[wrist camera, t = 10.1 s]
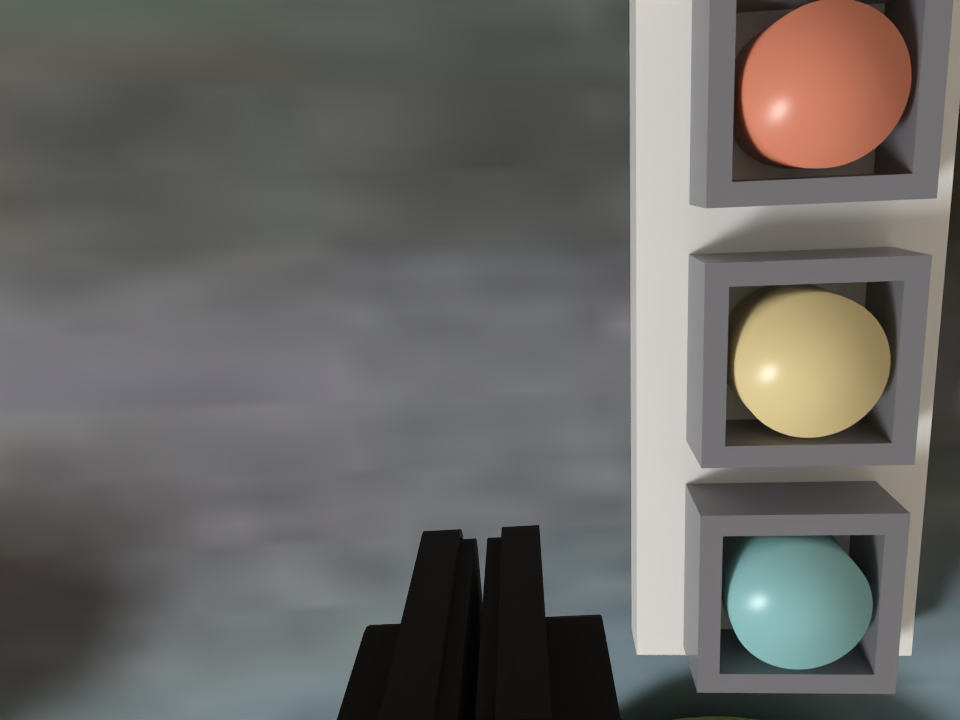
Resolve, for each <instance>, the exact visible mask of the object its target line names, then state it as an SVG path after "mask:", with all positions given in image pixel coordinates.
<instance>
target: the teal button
mask: <svg viewBox="0 0 960 720" xmlns="http://www.w3.org/2000/svg"><path fill="white" fill-rule="evenodd" d="M721 600H722V603H723V605H724V607H725V610H726V612H727V615H728V617H729V619H730V622H731V624H732V626H733V629H734V631H735V633H736V635H737V637H738V639H739V640H740V642H741V643H742V644H743V646H744V647H745V648H746V649H747V650H748V651H749V652H750V653H752V654H753V655H754V656H755V657H757V658H758V659H760V660H762V661H764V662H766V663H768V664H770V665H773V666H777V667H780V668H786V669H797V670H799V669H811V668H816V667H820V666H823V665H826V664H829V663H831V662H834V661H835V660H837V659H839V658H841V657H842V656H844V655H845V654H847V653H848V652H849V651H850V650H851V649H852V648H854V647H855V646H856V644H857V643H858V642H859V641H860V640H861V638H862V637H863V635H864V634H865V632H866V630H867V628H868V626H869V623H870V620H871V616H872V609H873V599H872V593H871V589H870V586H869V583H868V581H867V579H866V577H865V576H864V574H863V573H862V571H861V570H860V569H859V568H858V566H857V565H856V564H855V563H854V561H853V560H852V559H851V558H850V556H849V555H848V554H847V553H846V551H845V550H844V549H843V548H842V546H841V545H840V544H839V543H838V541H837V540H836V539H835V538H834V536H833V535H808V536H725V537H724V538H723V551H722V590H721Z"/></svg>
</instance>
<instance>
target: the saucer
mask: <svg viewBox="0 0 960 720" xmlns="http://www.w3.org/2000/svg"><path fill="white" fill-rule="evenodd" d="M674 720H758V719H749V718H740V717H715V716H709V717H689V718H682V719H674Z"/></svg>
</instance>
